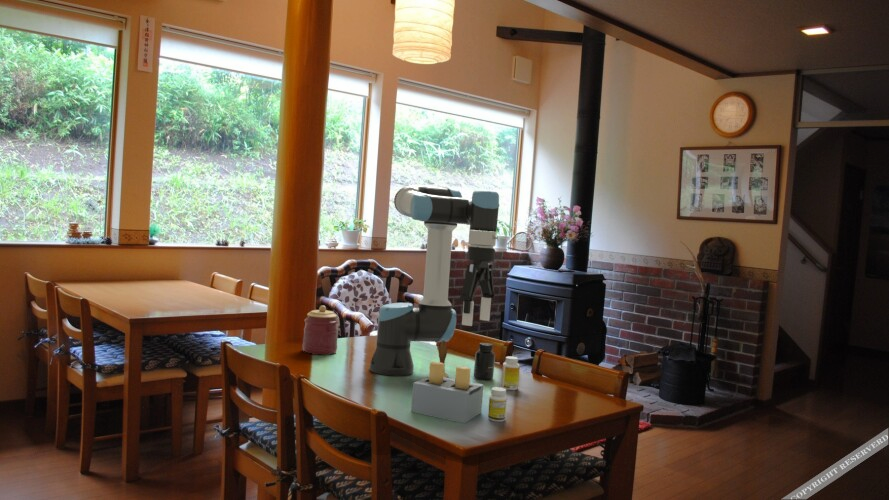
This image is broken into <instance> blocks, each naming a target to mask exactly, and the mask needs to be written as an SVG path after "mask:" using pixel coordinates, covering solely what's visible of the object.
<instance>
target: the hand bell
mask: <svg viewBox="0 0 889 500" xmlns="http://www.w3.org/2000/svg"><path fill="white" fill-rule="evenodd" d="M447 353H448V347H447V343H446V342H445V341H444V340H442V341H441V342H440V344H439V347H438V358H439V362H440V363H444V375H443V377H446V378H450V377H449V374H448V373H447V372H445V371H446V370H445V368H446V367H445V366H446V365H445V363H446V358H447Z"/></svg>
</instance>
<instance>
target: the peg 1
mask: <svg viewBox="0 0 889 500" xmlns="http://www.w3.org/2000/svg"><path fill="white" fill-rule="evenodd" d="M444 368H445V367H444V363H440V361H431V362H430V363H429V372H428V377H429V382H430V383H435V384H442V383H443V375H444Z"/></svg>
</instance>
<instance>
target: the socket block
mask: <svg viewBox="0 0 889 500" xmlns="http://www.w3.org/2000/svg"><path fill="white" fill-rule="evenodd" d="M483 394H484V384H482V383H477V382H472V381H470V384H469V389H467V390H466V389H461V388H456V387H455V378H450V377H449V378H446V377H443V383H442V384H435V383H430V382H429V376H426V377H424V378H422V379H419V380H417V381H415V382H412V395H411V407H410V408H411V409H410V411H411V412H412V413H414V414H415V413H416V414H420V415H426V416H430V417H434V418H437V419H438V418H439V419H444V420H448V421H452V422H456V423H461V424H466V423H467V422H468V421H470V420H472V419H473V418H475V417H477V416H478V415H479V414H481V413H482V411H483V409H482V407H483V397H484V395H483Z"/></svg>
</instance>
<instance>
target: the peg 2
mask: <svg viewBox="0 0 889 500" xmlns="http://www.w3.org/2000/svg"><path fill="white" fill-rule="evenodd" d="M471 370H472V369H471V368H470V367H467V366H456V367H455V377H454V379H455V387H456V388H461V389H466V390H467V389H469V384H470V382H471V380H470V379H471Z"/></svg>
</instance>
